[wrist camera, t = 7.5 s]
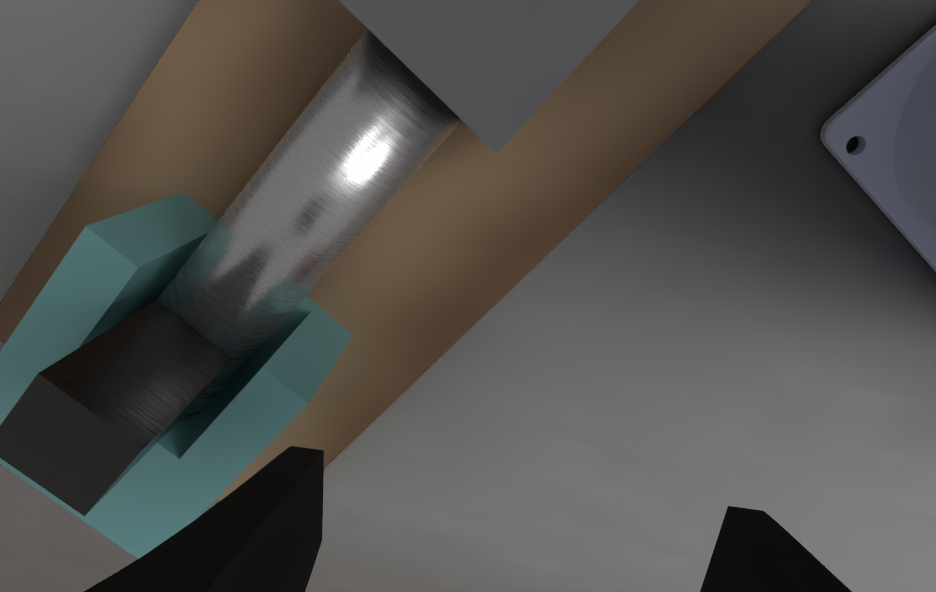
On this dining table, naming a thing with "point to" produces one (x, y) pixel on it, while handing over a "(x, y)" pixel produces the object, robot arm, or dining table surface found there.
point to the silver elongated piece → (231, 281)
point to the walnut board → (424, 196)
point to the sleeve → (491, 51)
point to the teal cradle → (189, 441)
